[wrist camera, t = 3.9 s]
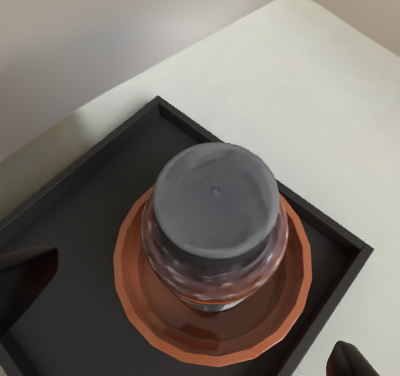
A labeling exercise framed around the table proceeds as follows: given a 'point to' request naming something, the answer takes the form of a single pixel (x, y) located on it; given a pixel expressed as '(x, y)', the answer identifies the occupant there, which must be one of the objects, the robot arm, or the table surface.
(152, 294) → the bowl
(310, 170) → the table surface
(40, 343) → the tray
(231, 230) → the supplement bottle
